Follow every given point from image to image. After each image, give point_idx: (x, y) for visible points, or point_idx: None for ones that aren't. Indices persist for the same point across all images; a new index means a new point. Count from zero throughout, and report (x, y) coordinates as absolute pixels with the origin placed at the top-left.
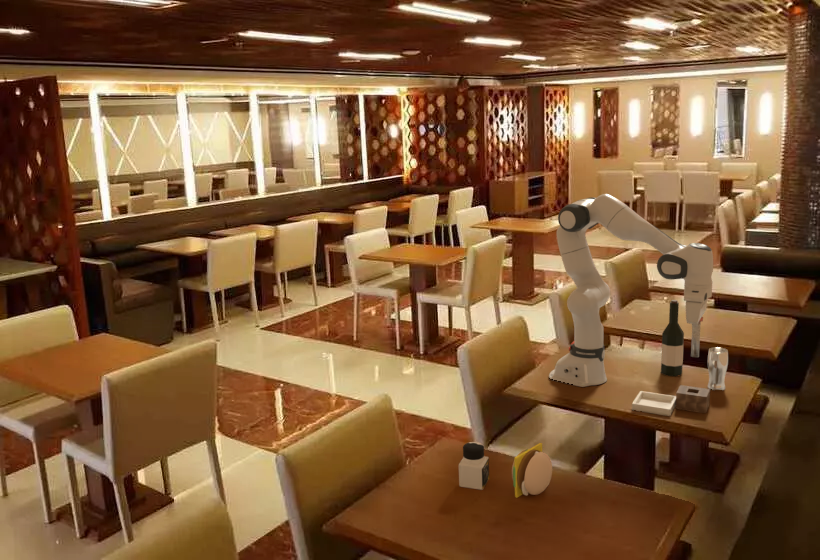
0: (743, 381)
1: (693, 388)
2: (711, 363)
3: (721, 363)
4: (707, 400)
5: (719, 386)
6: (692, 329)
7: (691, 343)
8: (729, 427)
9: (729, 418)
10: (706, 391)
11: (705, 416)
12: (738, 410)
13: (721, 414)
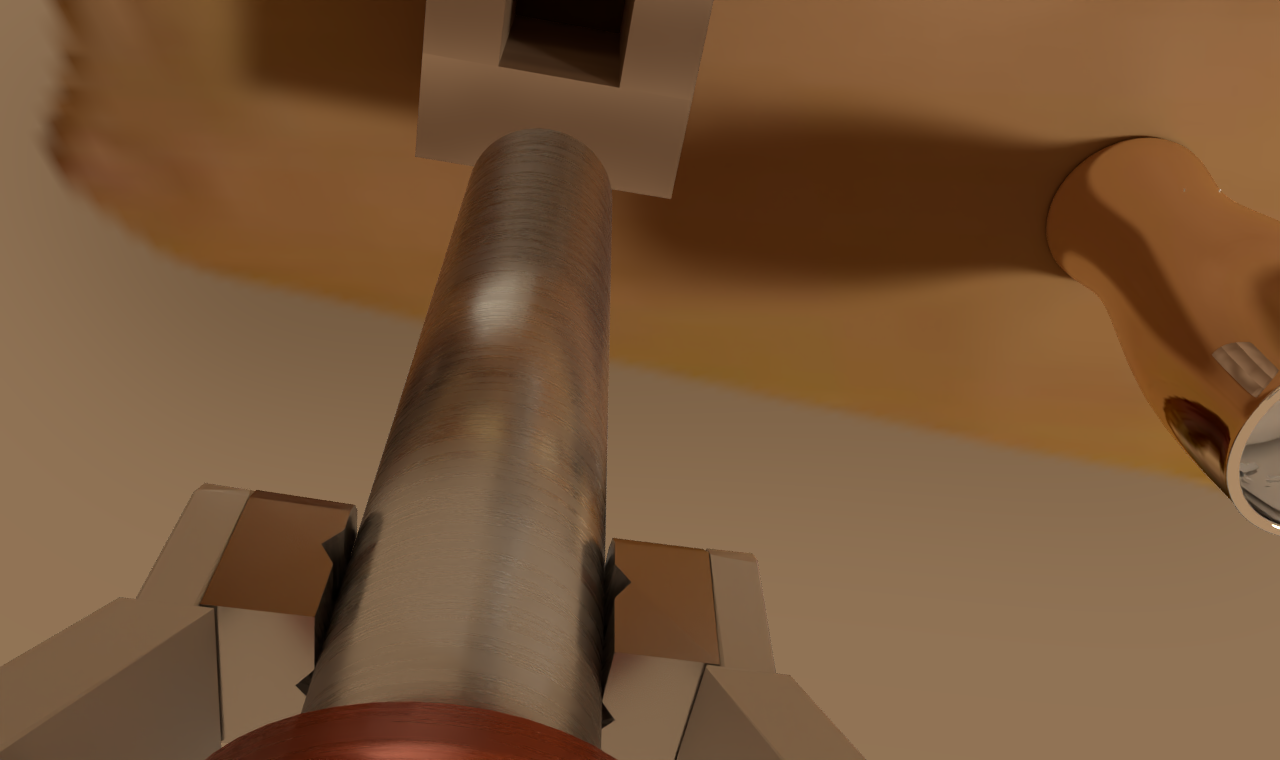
0: None
1: (654, 20)
2: (1201, 289)
3: (1156, 396)
4: None
5: (1067, 252)
6: (186, 523)
7: (515, 240)
8: (201, 268)
9: (397, 278)
10: None
11: (365, 88)
12: None
13: None
